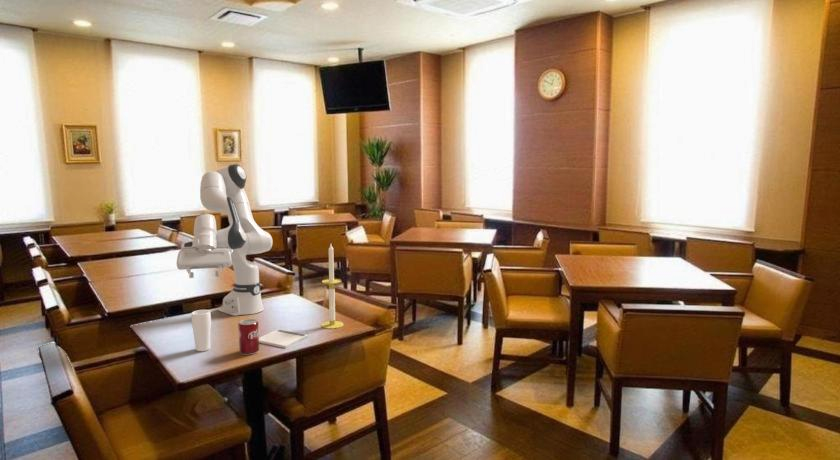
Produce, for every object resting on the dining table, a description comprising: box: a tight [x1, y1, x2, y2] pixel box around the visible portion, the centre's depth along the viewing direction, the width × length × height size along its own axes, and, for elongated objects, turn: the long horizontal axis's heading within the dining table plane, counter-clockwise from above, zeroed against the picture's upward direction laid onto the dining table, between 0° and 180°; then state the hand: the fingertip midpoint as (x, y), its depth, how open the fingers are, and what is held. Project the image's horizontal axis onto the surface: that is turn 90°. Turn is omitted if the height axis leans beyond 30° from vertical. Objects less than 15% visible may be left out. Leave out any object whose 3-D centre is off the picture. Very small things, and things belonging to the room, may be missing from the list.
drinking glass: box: [191, 309, 212, 352], centre depth 188 cm, size 7×7×15 cm
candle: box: [320, 243, 345, 330], centre depth 216 cm, size 10×10×38 cm
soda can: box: [237, 318, 260, 356], centre depth 186 cm, size 7×7×12 cm
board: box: [259, 328, 309, 349], centre depth 200 cm, size 16×14×1 cm
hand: (204, 276), depth 192 cm, fingers open, 8 cm apart
